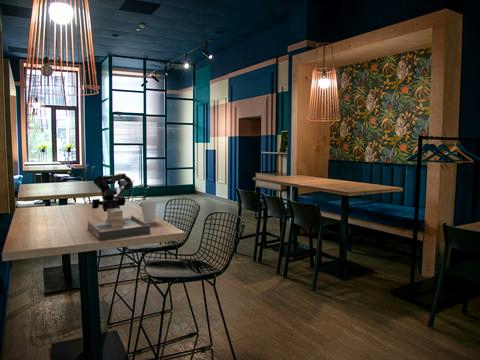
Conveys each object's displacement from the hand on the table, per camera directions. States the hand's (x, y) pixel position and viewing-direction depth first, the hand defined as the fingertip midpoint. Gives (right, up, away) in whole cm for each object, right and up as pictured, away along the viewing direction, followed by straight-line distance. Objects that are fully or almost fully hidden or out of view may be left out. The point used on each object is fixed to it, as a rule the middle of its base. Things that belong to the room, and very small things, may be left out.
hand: (111, 213), depth 229 cm
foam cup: (+19, -6, +12) cm, 24 cm away
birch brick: (+4, -6, -5) cm, 9 cm away
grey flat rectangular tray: (+7, -8, -10) cm, 15 cm away
